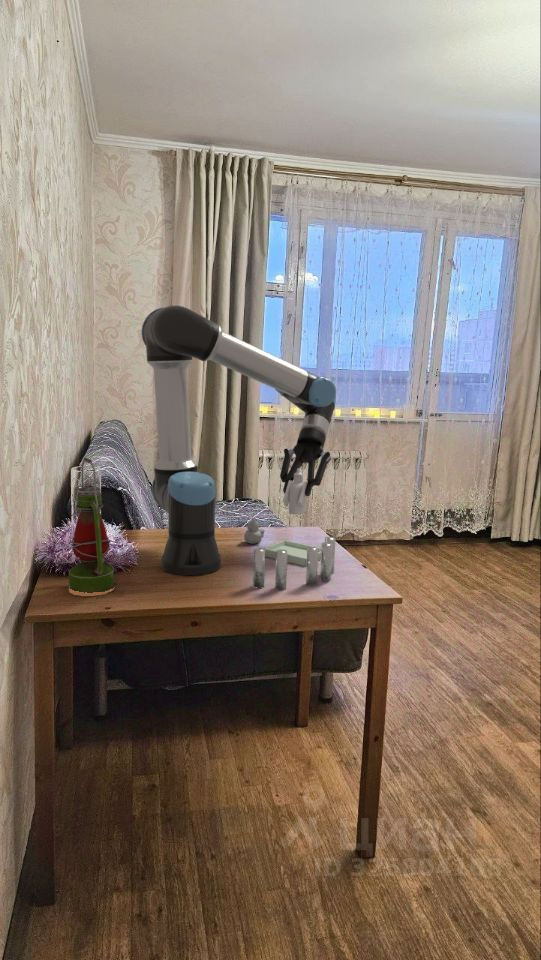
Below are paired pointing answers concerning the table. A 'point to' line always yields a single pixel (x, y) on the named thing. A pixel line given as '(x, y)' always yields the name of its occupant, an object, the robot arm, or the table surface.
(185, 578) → the table surface
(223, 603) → the table surface
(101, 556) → the lantern
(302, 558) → the tray
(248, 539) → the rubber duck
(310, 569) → the spacers
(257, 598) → the table surface
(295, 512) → the eye dropper bottle
